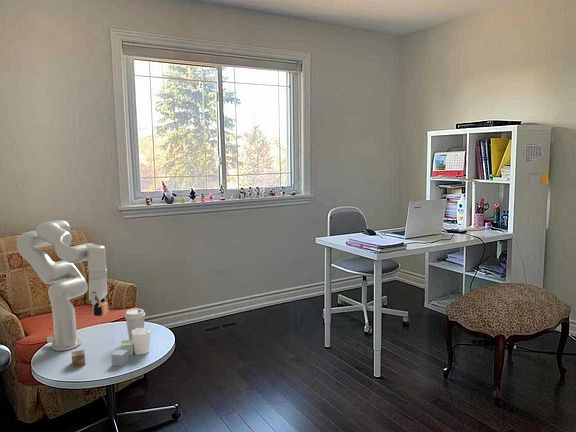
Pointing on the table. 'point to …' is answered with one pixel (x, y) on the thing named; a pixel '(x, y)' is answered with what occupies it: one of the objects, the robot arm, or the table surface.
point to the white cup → (141, 340)
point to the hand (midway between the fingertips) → (100, 312)
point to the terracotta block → (102, 308)
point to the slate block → (120, 357)
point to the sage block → (128, 346)
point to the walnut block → (78, 358)
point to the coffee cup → (134, 320)
